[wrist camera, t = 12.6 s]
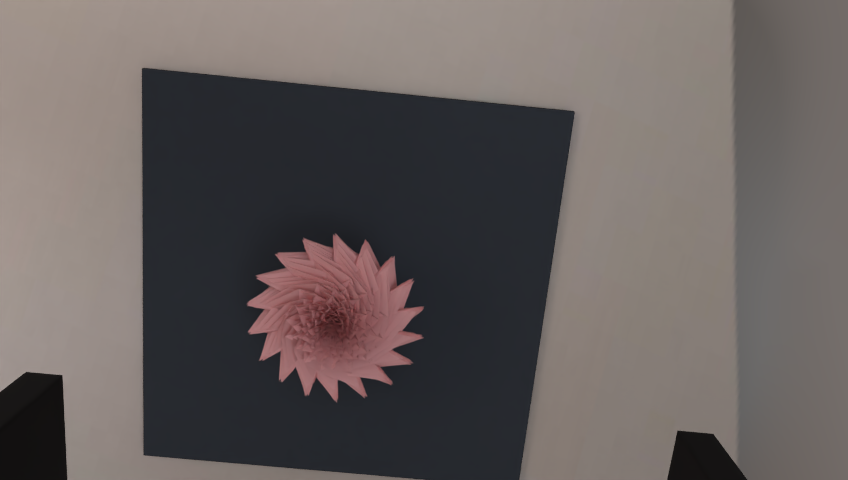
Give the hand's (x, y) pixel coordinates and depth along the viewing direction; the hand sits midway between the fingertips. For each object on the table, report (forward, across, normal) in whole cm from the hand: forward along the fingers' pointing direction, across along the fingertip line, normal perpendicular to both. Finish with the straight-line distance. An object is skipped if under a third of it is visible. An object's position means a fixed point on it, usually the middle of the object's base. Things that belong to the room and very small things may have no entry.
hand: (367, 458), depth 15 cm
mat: (+20, -3, -3) cm, 20 cm away
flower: (+20, -3, -3) cm, 20 cm away
